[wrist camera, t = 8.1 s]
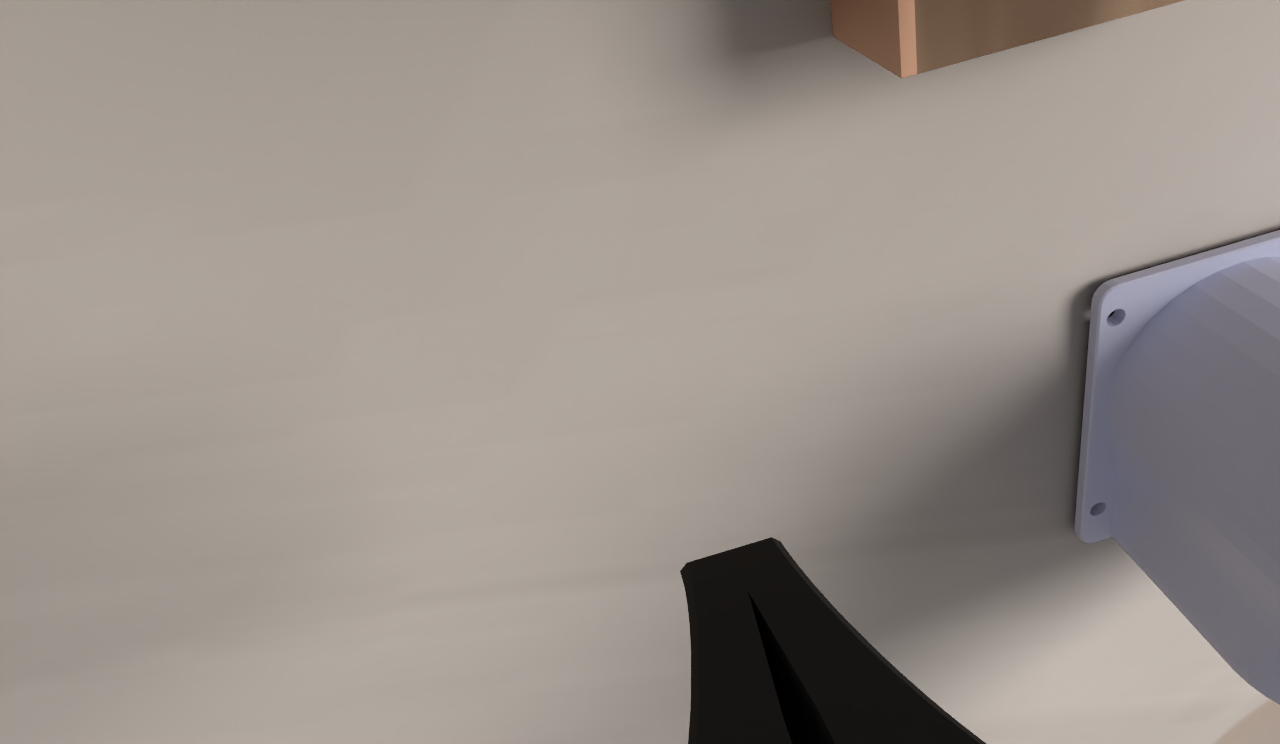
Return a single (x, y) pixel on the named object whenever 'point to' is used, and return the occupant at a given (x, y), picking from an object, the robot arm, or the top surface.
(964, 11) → the walnut block
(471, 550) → the top surface
